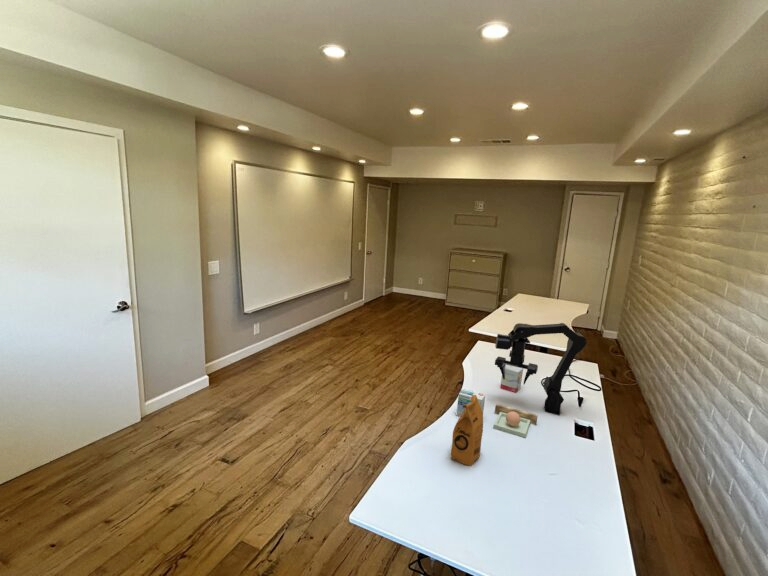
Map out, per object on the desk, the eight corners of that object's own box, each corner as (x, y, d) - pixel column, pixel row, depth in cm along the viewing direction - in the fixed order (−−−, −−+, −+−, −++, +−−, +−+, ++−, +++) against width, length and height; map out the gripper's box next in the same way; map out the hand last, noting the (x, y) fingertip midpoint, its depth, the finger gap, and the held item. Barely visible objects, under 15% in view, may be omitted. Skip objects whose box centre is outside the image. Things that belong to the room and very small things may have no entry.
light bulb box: (455, 415, 171) (458, 393, 169) (460, 409, 177) (462, 387, 175) (479, 422, 166) (482, 399, 164) (483, 416, 172) (485, 393, 170)
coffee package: (445, 458, 140) (451, 402, 136) (459, 443, 150) (465, 390, 146) (471, 469, 134) (477, 411, 130) (484, 452, 144) (490, 398, 140)
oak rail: (536, 423, 168) (537, 415, 167) (536, 425, 167) (537, 416, 166) (495, 411, 177) (496, 403, 176) (494, 413, 175) (495, 405, 174)
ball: (520, 424, 166) (522, 411, 165) (517, 430, 161) (520, 417, 160) (506, 419, 169) (508, 407, 167) (503, 425, 163) (505, 413, 162)
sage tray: (529, 424, 167) (530, 420, 167) (525, 438, 156) (525, 433, 156) (499, 415, 173) (500, 411, 173) (493, 428, 162) (493, 424, 162)
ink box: (515, 393, 197) (518, 371, 195) (499, 388, 202) (502, 367, 200) (521, 388, 204) (523, 367, 202) (505, 383, 209) (507, 363, 207)
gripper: (541, 350, 182) (536, 381, 184) (501, 342, 190) (497, 371, 193) (538, 356, 172) (533, 389, 175) (496, 348, 181) (492, 379, 183)
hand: (513, 381), depth 182 cm, fingers open, 9 cm apart
